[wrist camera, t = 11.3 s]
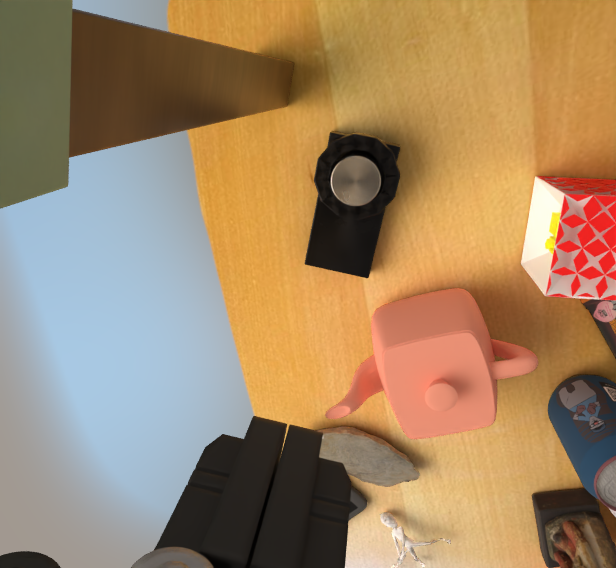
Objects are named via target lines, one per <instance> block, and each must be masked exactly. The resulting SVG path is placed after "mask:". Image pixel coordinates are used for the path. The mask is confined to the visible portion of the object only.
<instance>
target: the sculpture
mask: <svg viewBox="0 0 616 568" xmlns="http://www.w3.org/2000/svg"><path fill="white" fill-rule="evenodd" d="M532 500H533V506H534V512H535V518H536V523H537V529H538V535H539V542H540V549H541V552H542V556H543V558H544V561H545V563H546V566H547V567H548V568H554V567H561V568H616V546H615V544H614V542H613V541H612V539H611V536H610V534H609V531H608V529H607V527H606V524H605V522H604V520H603V517H602V515H601V513H600V509H599V504H598V502H597V500H596V498H595V497H594V496H592V495H591V494H590V493H589V492H588V491H587V490H586V489H585V488H583V489H574V490H563V491H553V492H544V493H535V494H533V495H532Z"/></svg>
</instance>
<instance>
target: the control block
mask: <svg viewBox="0 0 616 568" xmlns="http://www.w3.org/2000/svg"><path fill="white" fill-rule="evenodd" d="M399 150H400V145H399V144H394V143H389V142H384V141H382V140H381V139H380V138H379V137H377V136H373V135H368V134H364V133H359V132H354V133H351V134H346V133H341V132H336V131H331V132H330V136H329V141H328V146H327V149H326V150H325V151H324V152H323V153H322V154H321V156H320V157H319V158H318V161H317V167H316V172H315V177H314V182H315V185H316V188H317V191H318V198H317V203H316V208H315V213H314V218H313V224H312V229H311V234H310V239H309V244H308V249H307V254H306V260H305V264H306V265H310V266H315V267H319V268H324V269H328V270H333V271H337V272H342V273H346V274H351V275H356V276H360V277H365V278H369V274H370V270H371V265H372V261H373V257H374V253H375V249H376V245H377V241H378V237H379V233H380V228H381V224H382V220H383V216H384V212H385V208H386V206H387V205H388V204H389V203H390V202H391V201H392V200H393V199H394V197H395V195H396V191H397V187H398V183H399V179H400V172H399V169H398V165H397V158H398V154H399ZM352 153H362V154H366V155H368V156H370V157H371V158H372V159H373V160H374V161H375V162H376V163H377V165H378V166H379V169H380V172H381V185H380V189H379V191H378V193H377V195H376V196H375V197H374V198H373V199H372V200H371V201H370V202H368V203H366V204H364V205H360V206H351V205H347V204H345V203H343V202H341V201H340V200H339V199H338V198H337V197H336V196H335V194H334V192H333V190H332V187H331V175H332V172H333V170H334V168H335V166H336V165H337V163H338V162H339V161H340V160H341V159H342V158H343V157H345V156H346V155H349V154H352Z"/></svg>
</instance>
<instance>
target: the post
mask: <svg viewBox="0 0 616 568" xmlns="http://www.w3.org/2000/svg"><path fill="white" fill-rule="evenodd" d="M293 68H294V63H293V62H289V61H285V60H281V59H277V58H273V57H269V56H265V55H261V54H257V53H253V52H248V51H244V50H240V49H236V48H232V47H228V46H224V45H220V44H216V43H212V42H207V41H203V40H199V39H195V38H191V37H187V36H183V35H179V34H175V33H171V32H166V31H162V30H158V29H154V28H150V27H146V26H142V25H138V24H133V23H129V22H125V21H121V20H117V19H113V18H109V17H105V16H101V15H97V14H92V13H89V12H84V11H80V10H76V9H72V42H71V86H70V130H69V157H74V156H77V155H82V154H86V153H91V152H95V151H99V150H103V149H108V148H111V147H116V146H121V145H125V144H129V143H133V142H138V141H141V140H146V139H150V138H155V137H159V136H163V135H167V134H171V133H175V132H180V131H184V130H189V129H193V128H197V127H202V126H206V125H210V124H214V123H219V122H223V121H227V120H231V119H236V118H240V117H244V116H248V115H253V114H257V113H261V112H266V111H270V110H274V109H278V108H283V107H287V105H288V99H289V93H290V87H291V81H292V74H293Z"/></svg>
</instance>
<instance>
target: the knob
mask: <svg viewBox="0 0 616 568" xmlns="http://www.w3.org/2000/svg"><path fill="white" fill-rule="evenodd" d="M380 185H381V172H380V169H379V166H378V165H377V163H376V162H375V161H374V160H373V159H372V158H371V157H370V156H368V155H366V154H362V153H352V154H349V155H346V156H345V157H343V158H342V159H341V160H340V161H339V162H338V163H337V165H336V166H335V168H334V170H333V172H332V175H331V187H332V190H333V192H334V194H335V196H336V197H337V198H338V199H339V200H340V201H341V202H343V203H345V204H347V205H351V206H360V205H364V204H366V203H368V202H370V201H371V200H372V199H373V198H374V197H375V196H376V195H377V193H378V191H379V189H380Z"/></svg>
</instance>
